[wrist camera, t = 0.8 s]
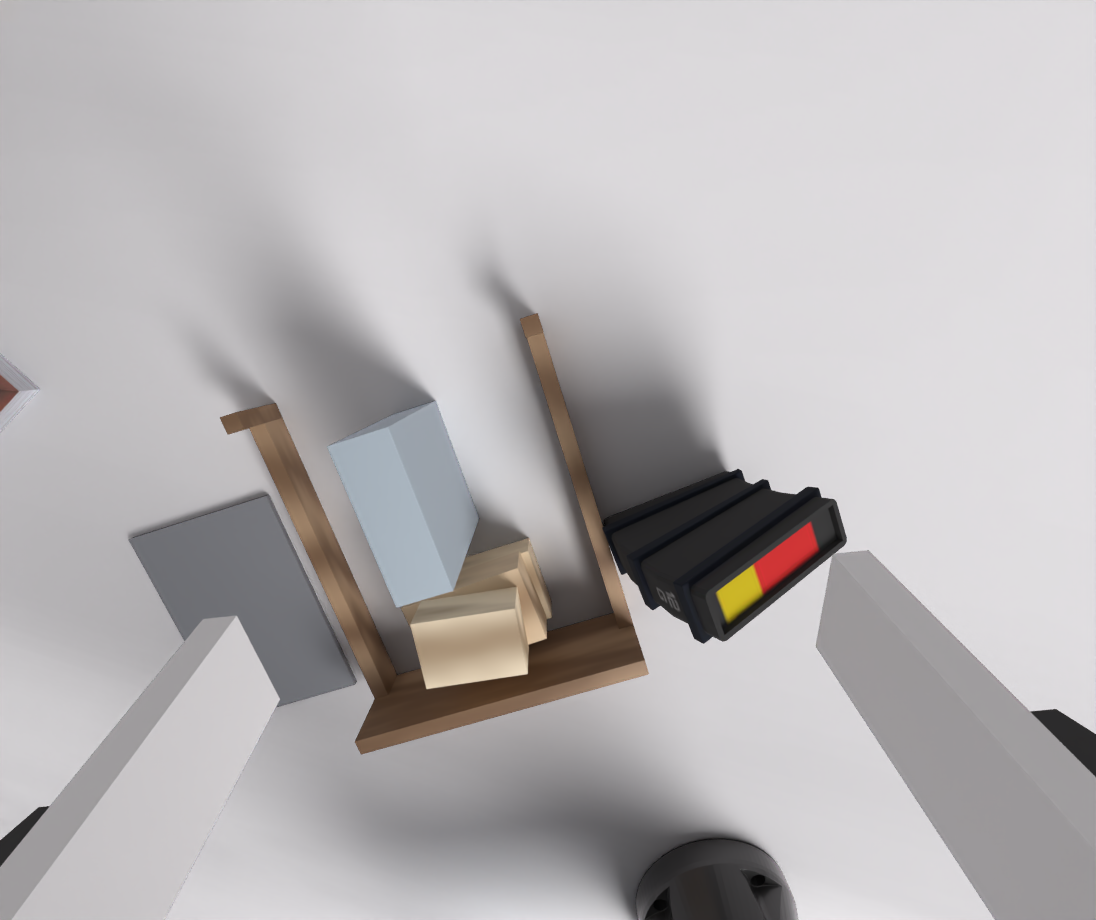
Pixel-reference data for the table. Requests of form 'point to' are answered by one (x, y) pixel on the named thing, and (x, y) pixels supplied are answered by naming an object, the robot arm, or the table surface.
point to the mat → (248, 593)
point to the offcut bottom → (528, 559)
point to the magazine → (723, 549)
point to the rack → (403, 700)
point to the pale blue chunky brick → (409, 501)
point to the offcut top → (471, 638)
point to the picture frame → (13, 391)
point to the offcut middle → (496, 577)
